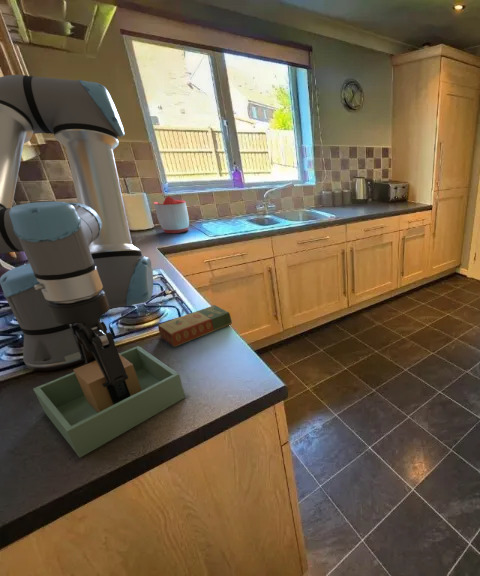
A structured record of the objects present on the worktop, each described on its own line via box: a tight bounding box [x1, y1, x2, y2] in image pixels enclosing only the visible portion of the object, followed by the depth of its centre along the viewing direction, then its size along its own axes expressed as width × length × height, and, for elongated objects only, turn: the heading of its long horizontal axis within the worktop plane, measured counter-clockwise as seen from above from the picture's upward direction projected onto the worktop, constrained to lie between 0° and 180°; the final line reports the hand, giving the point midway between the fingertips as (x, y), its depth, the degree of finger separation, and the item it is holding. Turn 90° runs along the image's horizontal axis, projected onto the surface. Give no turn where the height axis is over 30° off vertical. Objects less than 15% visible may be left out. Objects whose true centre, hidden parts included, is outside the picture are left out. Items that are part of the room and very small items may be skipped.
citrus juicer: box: [153, 196, 190, 235], centre depth 186 cm, size 16×17×20 cm
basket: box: [32, 345, 186, 458], centre depth 65 cm, size 18×18×6 cm
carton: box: [157, 304, 233, 348], centre depth 92 cm, size 8×16×4 cm, turn 144°
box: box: [73, 352, 142, 413], centre depth 64 cm, size 7×7×8 cm
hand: (115, 397), depth 66 cm, fingers closed on box, 7 cm apart
